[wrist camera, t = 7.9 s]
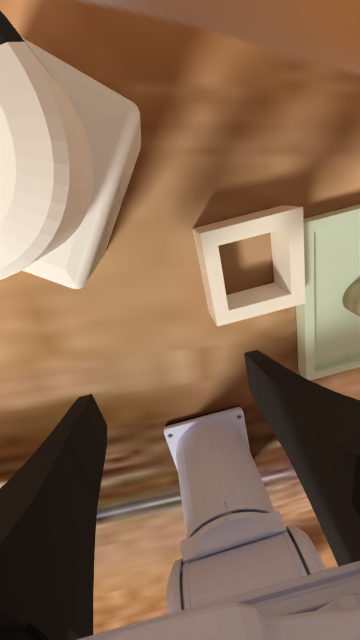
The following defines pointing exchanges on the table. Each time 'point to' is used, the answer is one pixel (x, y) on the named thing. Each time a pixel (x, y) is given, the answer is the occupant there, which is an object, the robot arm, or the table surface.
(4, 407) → the table surface
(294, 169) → the table surface
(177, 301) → the table surface
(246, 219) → the square block with hole
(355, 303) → the dowel
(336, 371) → the tray
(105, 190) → the container
